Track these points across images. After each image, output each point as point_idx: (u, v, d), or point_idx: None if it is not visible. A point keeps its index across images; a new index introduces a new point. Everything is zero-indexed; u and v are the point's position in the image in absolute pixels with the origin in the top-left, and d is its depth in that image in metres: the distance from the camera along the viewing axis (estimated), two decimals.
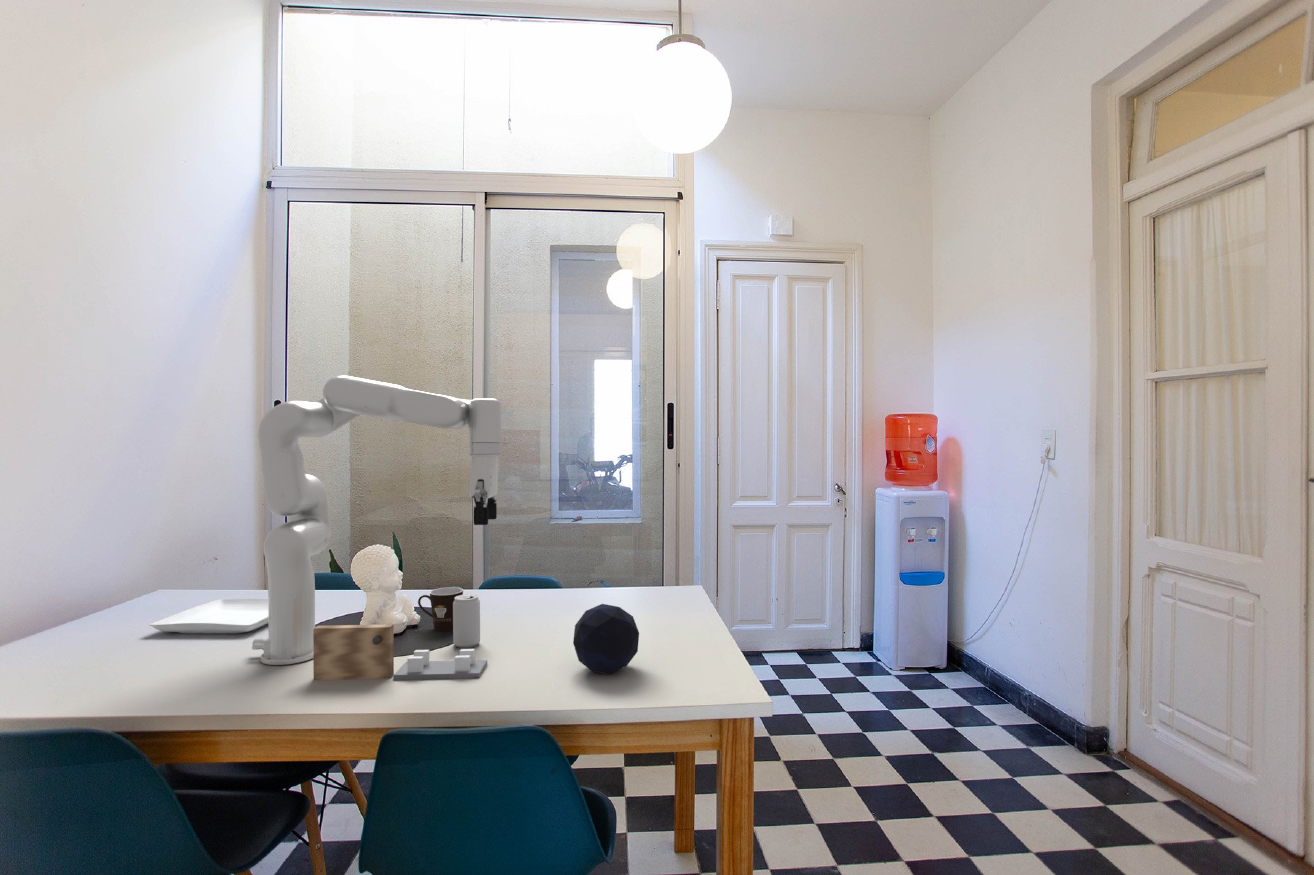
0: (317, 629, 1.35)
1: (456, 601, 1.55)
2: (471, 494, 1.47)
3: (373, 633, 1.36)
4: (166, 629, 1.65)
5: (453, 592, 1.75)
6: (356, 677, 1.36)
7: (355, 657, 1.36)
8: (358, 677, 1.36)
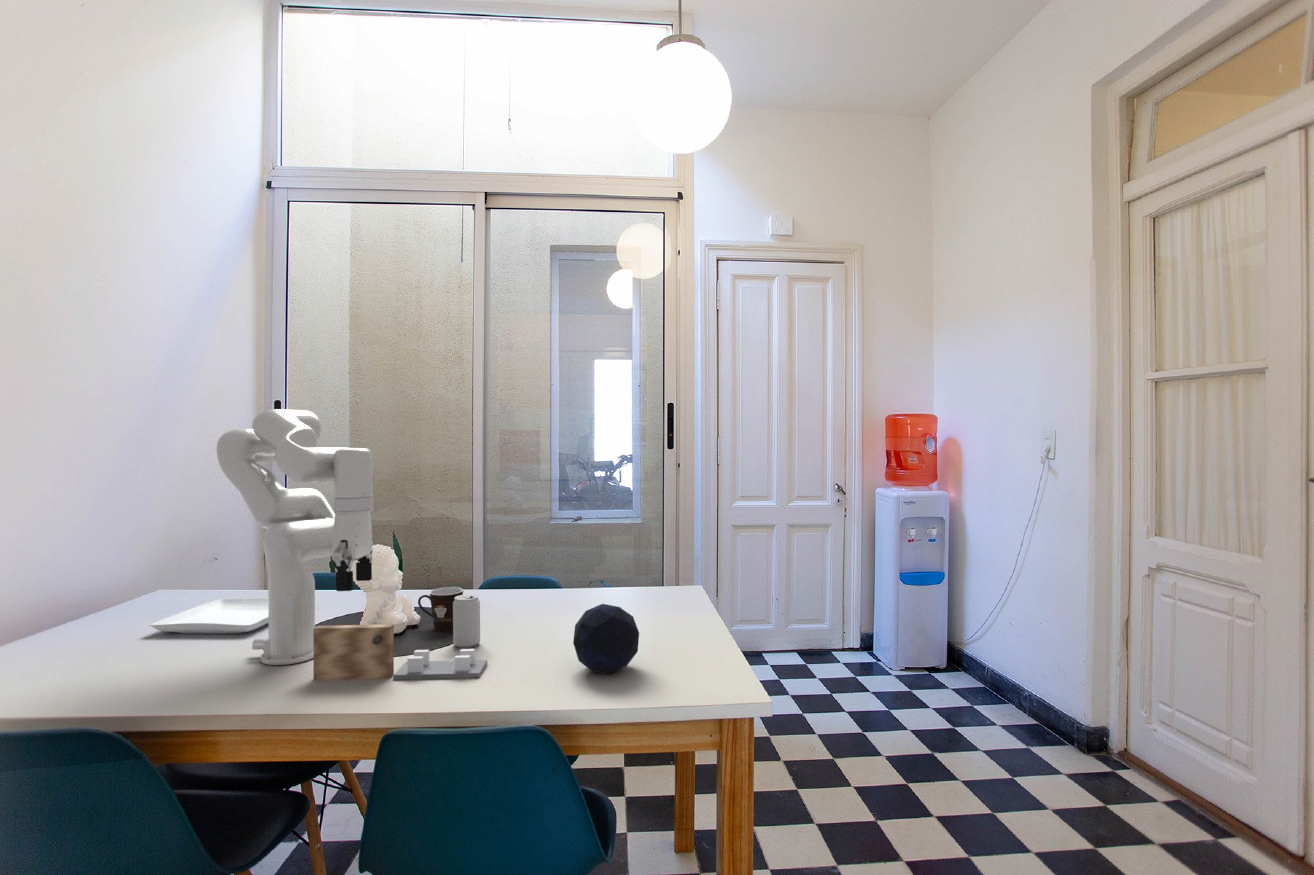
0: (317, 629, 1.35)
1: (456, 601, 1.55)
2: None
3: (373, 633, 1.36)
4: (166, 629, 1.65)
5: (453, 592, 1.75)
6: (356, 677, 1.36)
7: (355, 657, 1.36)
8: (358, 677, 1.36)
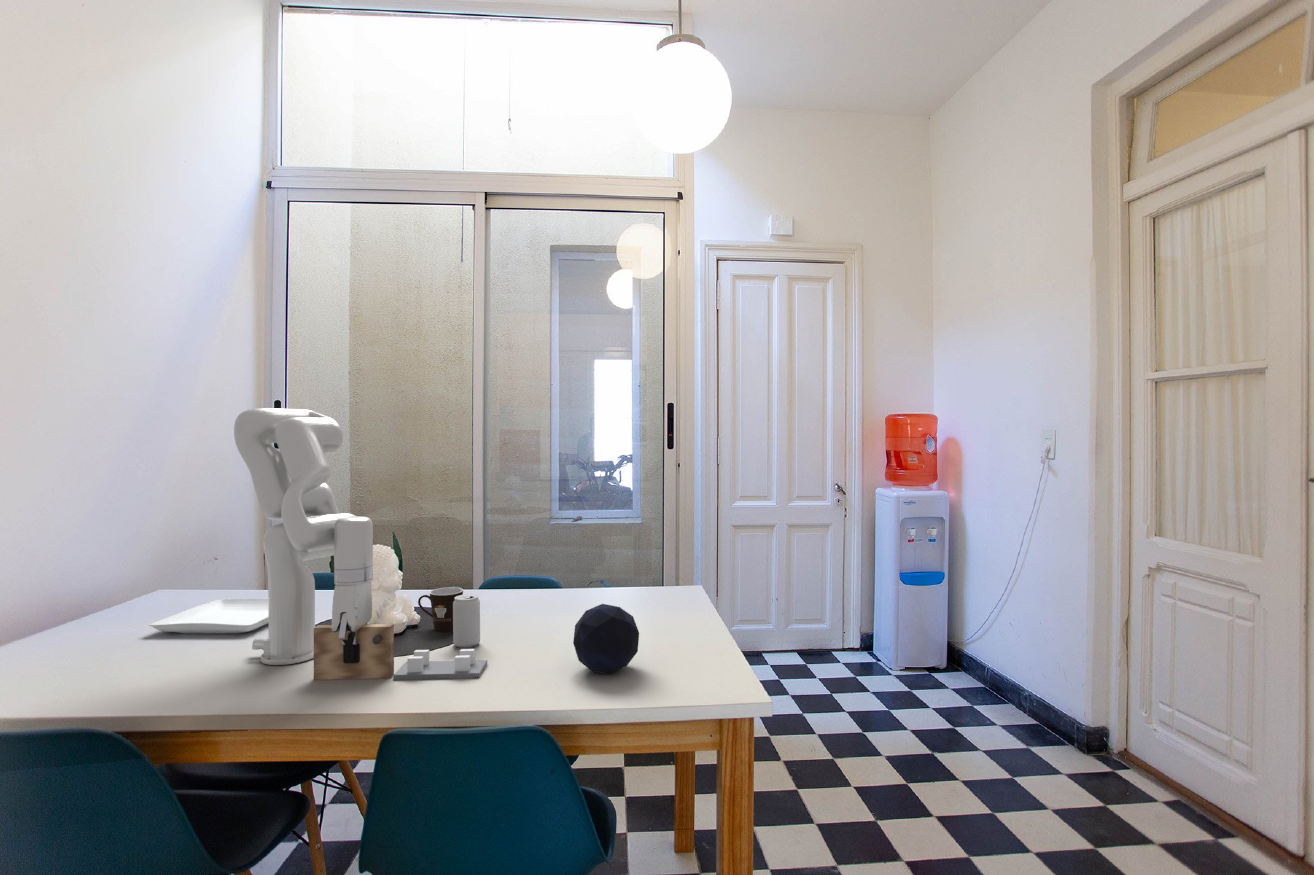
0: (317, 628, 1.35)
1: (456, 601, 1.55)
2: (333, 629, 1.31)
3: (373, 632, 1.36)
4: (166, 629, 1.65)
5: (453, 592, 1.75)
6: (356, 677, 1.36)
7: None
8: (358, 677, 1.36)
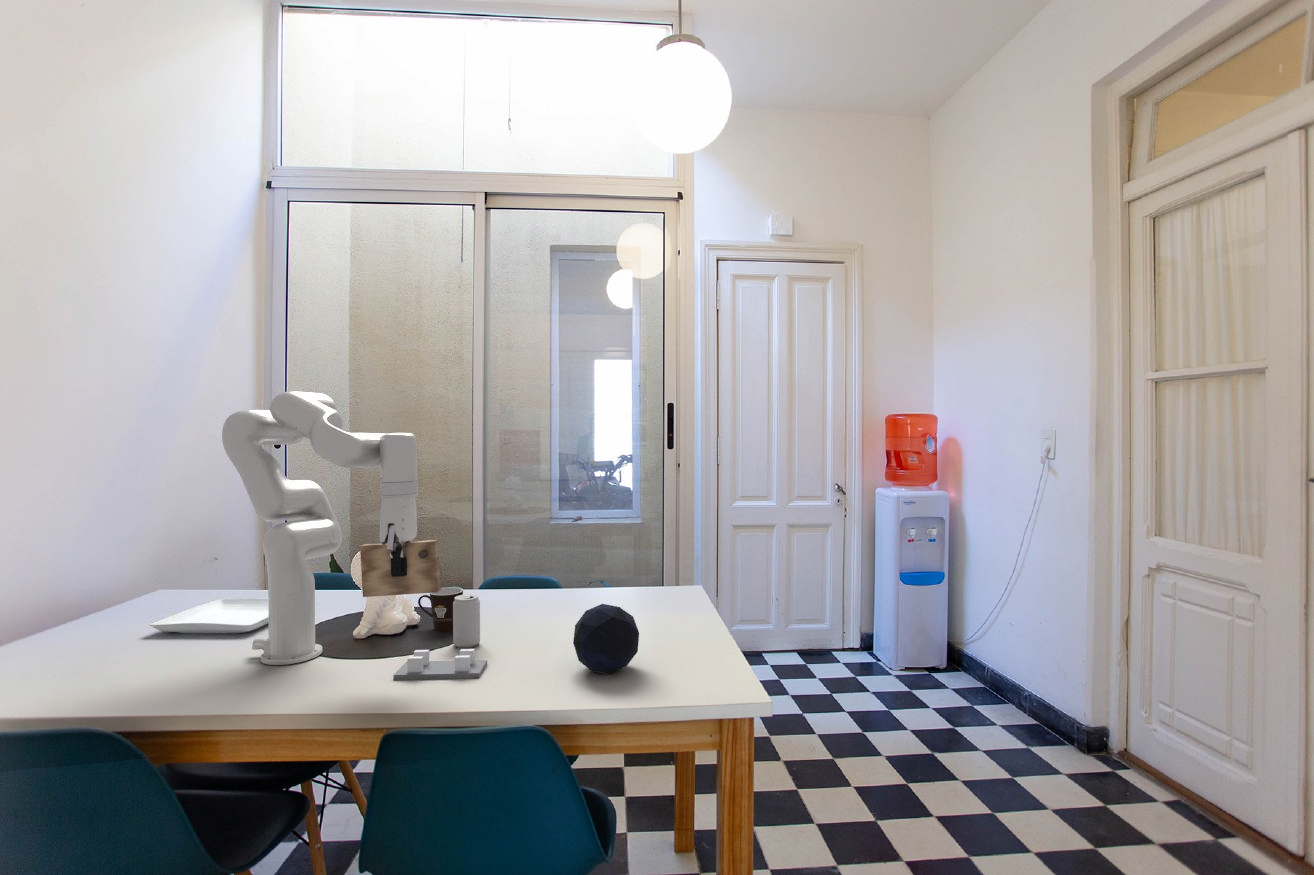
0: (364, 546, 1.37)
1: (456, 601, 1.55)
2: (381, 540, 1.33)
3: (419, 547, 1.37)
4: (166, 629, 1.65)
5: (453, 592, 1.75)
6: (404, 592, 1.37)
7: None
8: (406, 592, 1.37)
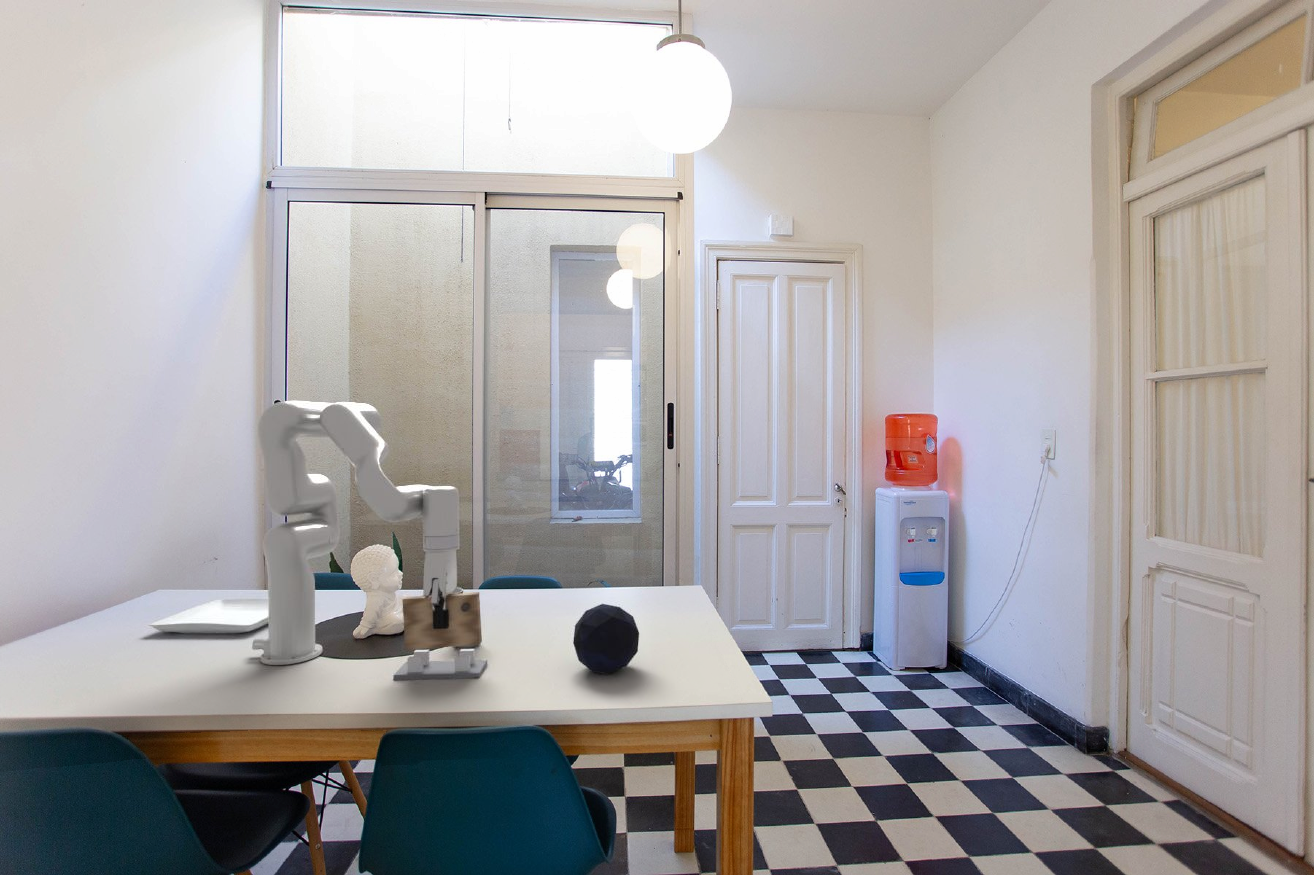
0: (406, 600, 1.38)
1: None
2: (425, 594, 1.34)
3: (461, 600, 1.39)
4: (166, 629, 1.65)
5: (453, 592, 1.75)
6: (446, 645, 1.38)
7: None
8: (448, 645, 1.38)
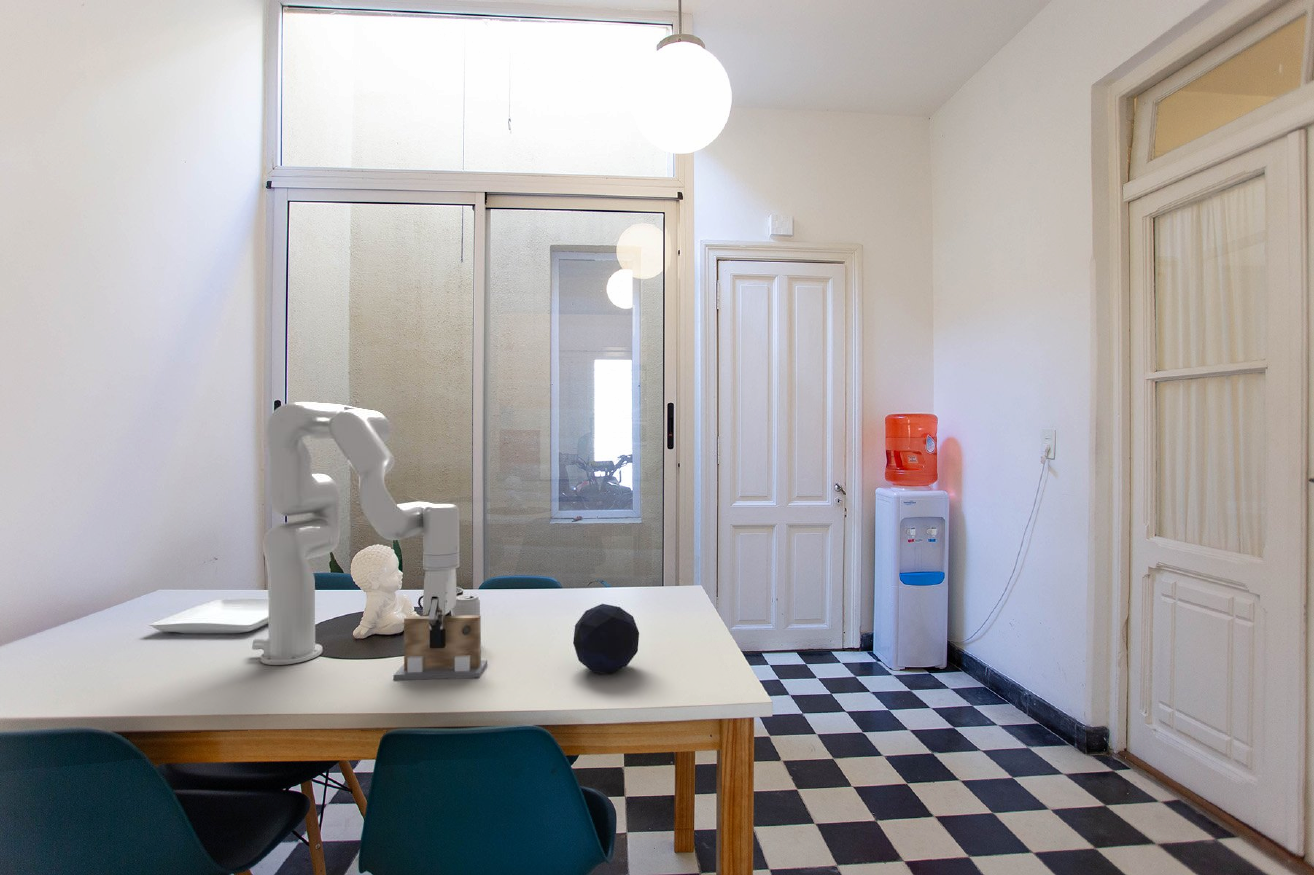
0: (408, 619, 1.38)
1: (456, 601, 1.55)
2: (424, 612, 1.34)
3: (462, 623, 1.39)
4: (166, 629, 1.65)
5: None
6: (445, 666, 1.39)
7: (444, 647, 1.39)
8: (447, 666, 1.39)
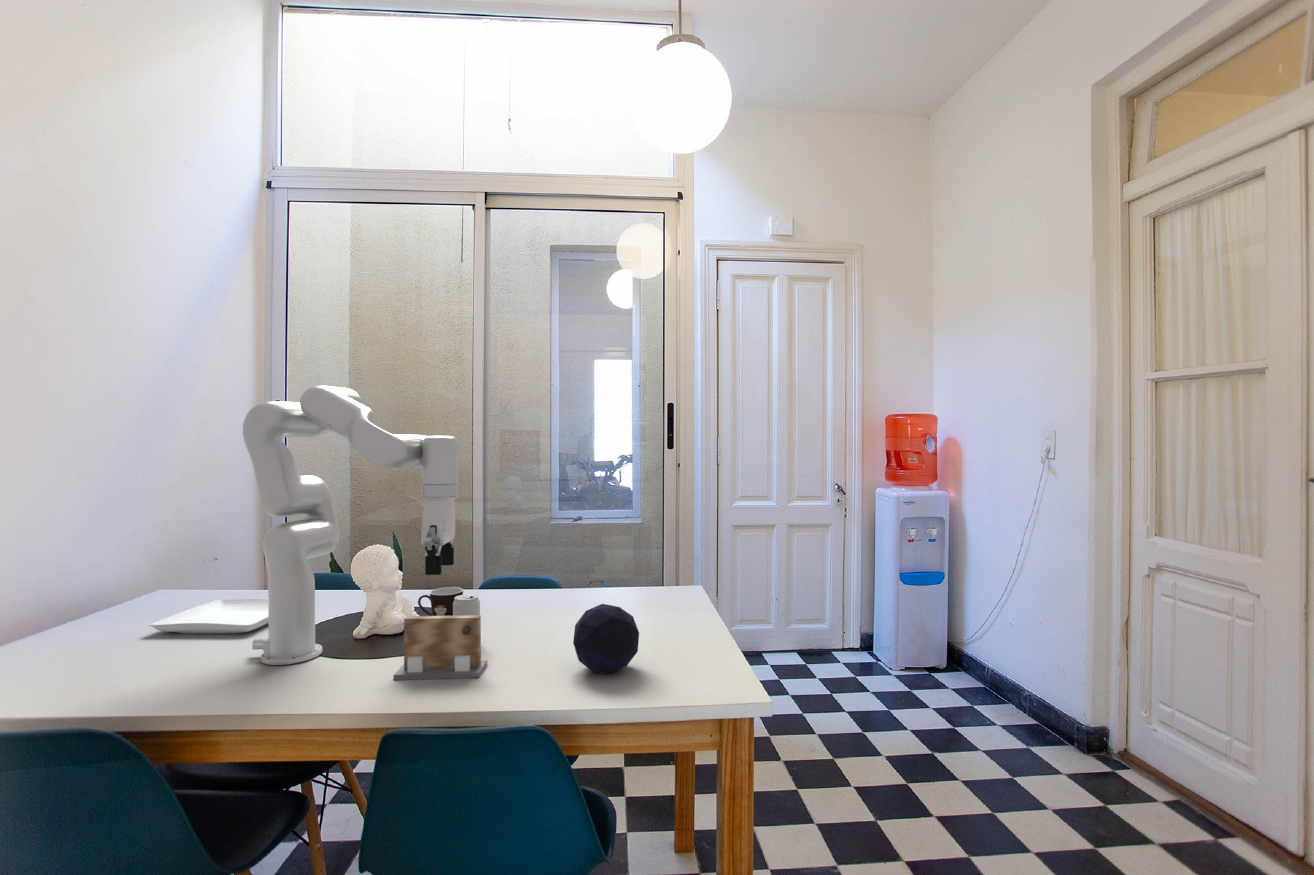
0: (408, 619, 1.38)
1: (456, 601, 1.55)
2: (423, 541, 1.35)
3: (462, 623, 1.39)
4: (166, 629, 1.65)
5: (453, 592, 1.75)
6: (445, 666, 1.39)
7: (444, 647, 1.39)
8: (447, 666, 1.39)
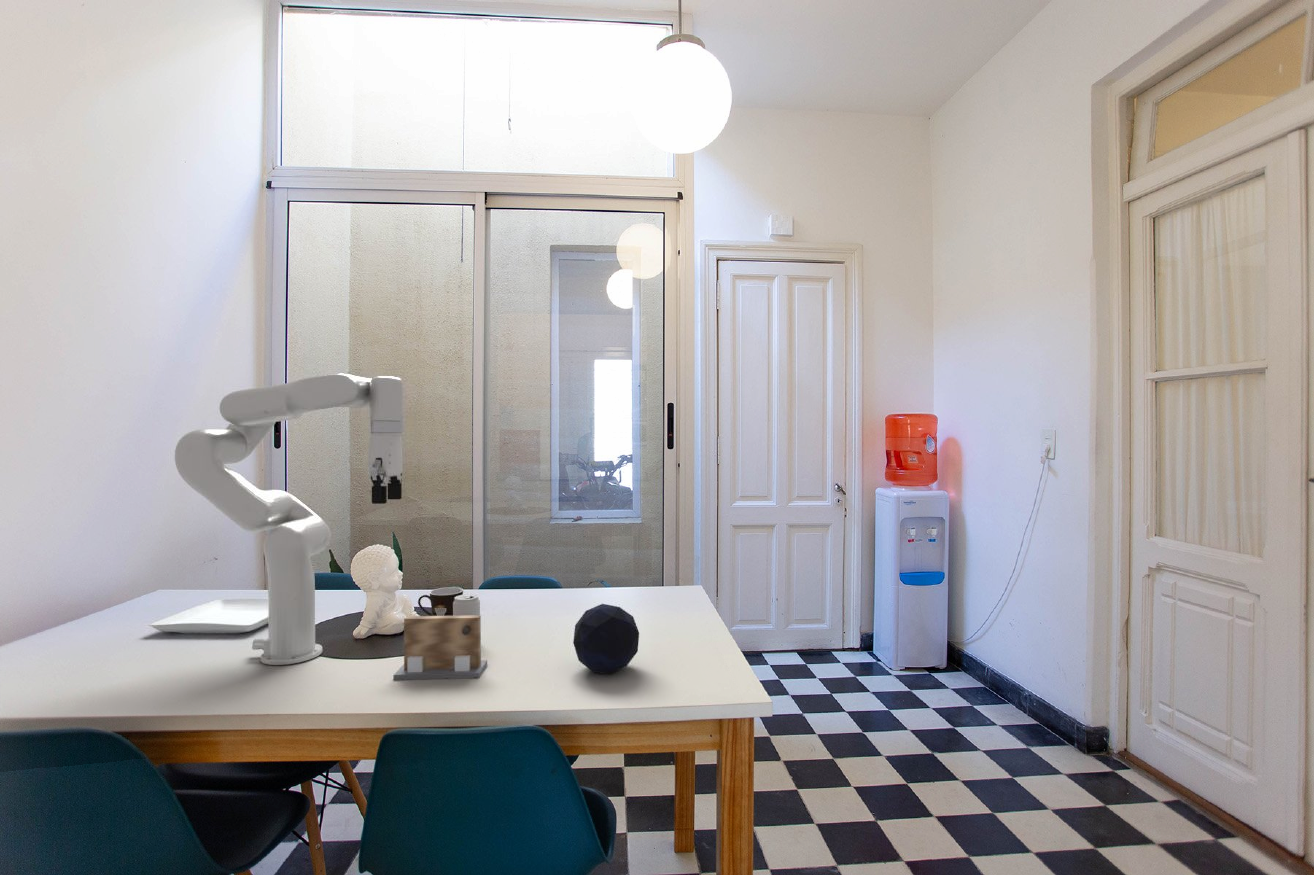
0: (408, 619, 1.38)
1: (456, 601, 1.55)
2: (369, 473, 1.45)
3: (462, 623, 1.39)
4: (166, 629, 1.65)
5: (453, 592, 1.75)
6: (445, 666, 1.39)
7: (444, 647, 1.39)
8: (447, 666, 1.39)
